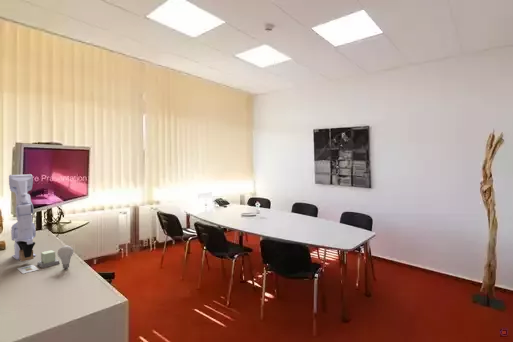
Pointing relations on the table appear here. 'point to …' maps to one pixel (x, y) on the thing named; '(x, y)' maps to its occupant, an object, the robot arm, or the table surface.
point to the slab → (48, 263)
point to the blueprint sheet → (27, 269)
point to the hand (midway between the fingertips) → (26, 256)
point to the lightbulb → (65, 255)
